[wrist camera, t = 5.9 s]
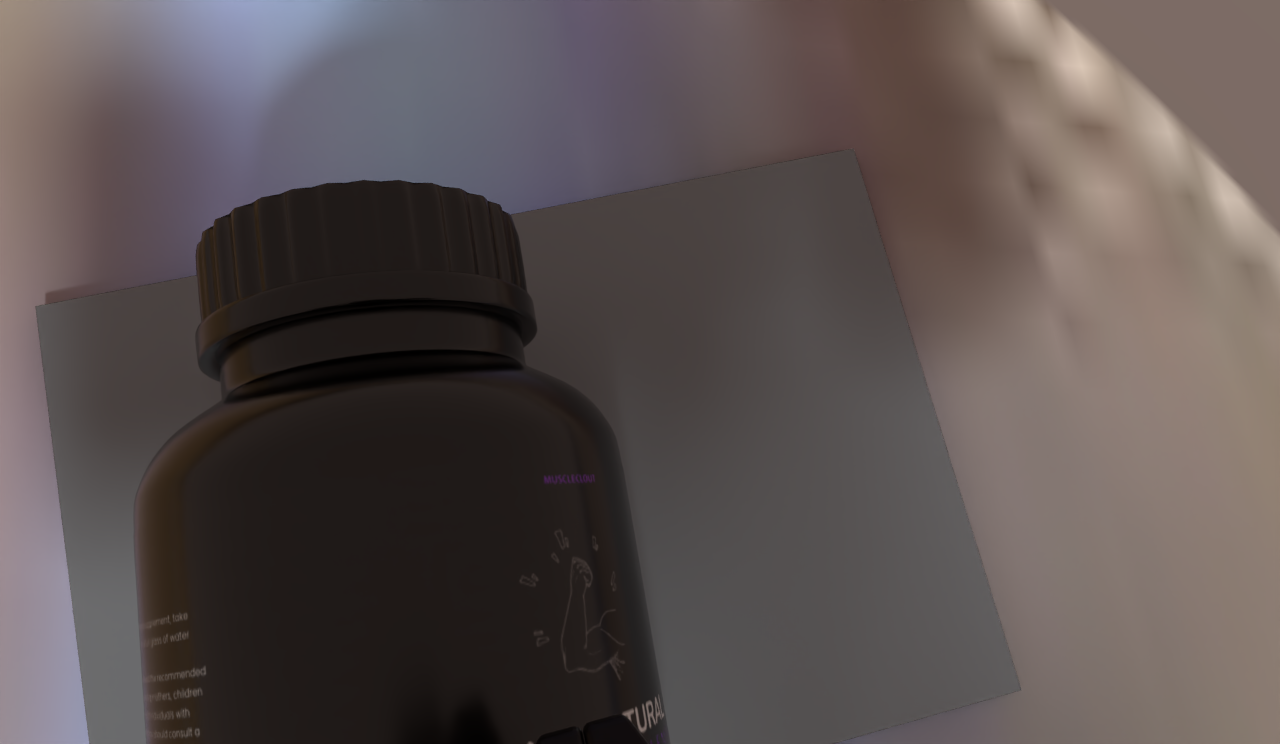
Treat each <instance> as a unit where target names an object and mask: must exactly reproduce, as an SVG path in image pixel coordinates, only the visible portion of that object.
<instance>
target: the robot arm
mask: <svg viewBox="0 0 1280 744" xmlns="http://www.w3.org/2000/svg"><path fill="white" fill-rule="evenodd" d="M583 735H584V737H583ZM584 739H585V742H584ZM536 744H649V743H648V742H647V741H646V740H645V738H644V737H643V736H642V734H641V733H640V732H639V731H638V729H637V728H636V727H635V726H634V724H633V723H632V722H631V721H630V720H629V719H628V718H627V717H626V716H624V715H622V714H616V715H613V716H609V717H605V718H602V719H598V720H594V721H590V722H588V723H586V725H585V726H584V728H583V733H582V730H581V729H580V728H579V727H576V726H572V727H568V728H565V729H561V730H557V731H553V732H550V733H546V734H543V735H541V736H540V737H539V738H538V740H537V742H536Z"/></svg>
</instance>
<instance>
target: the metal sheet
mask: <svg viewBox="0 0 1280 744" xmlns="http://www.w3.org/2000/svg"><path fill="white" fill-rule="evenodd" d="M511 217H512V219H513V222H514V225H515V228H516V230H517V233H518V236H519V241H520V247H521V253H522V259H523V266H524V272H525V279H526V285H527V293H528V294H529V295H530V296H531V298H532V300H533V304H534V310H535V317H536V323H537V334H536V336H535V338H534V339H533V340H532V341H531V342H530V343H529V344H528V345H527V346H526V347H524V348H523V349H524V356H525V362H526V365H527V366H529V367H531V368H534V369H536V370H539V371H541V372H544V373H546V374H548V375H551V376H553V377H555V378H557V379H560V380H562V381H564V382H566V383H568V384H569V385H571V386H573V387H574V388H576V389H577V390H579V391H580V392H581V393H583V394H584V395H585V396H586V397H588V398H589V399H590V400H591V401H592V402H593V403H594V404H595V405H596V407H597V408H598V409H599V410H600V411H601V413H602V414H603V416H604V417H605V418H606V420H607V421H608V423H609V424H610V426H611V428H612V429H613V431H614V434H615V436H616V439H617V443H618V447H619V451H620V456H621V462H622V465H623V469H624V475H625V480H626V486H627V492H628V497H629V503H630V509H631V515H632V521H633V527H634V532H635V538H636V544H637V550H638V556H639V562H640V568H641V574H642V579H643V585H644V591H645V597H646V603H647V609H648V615H649V620H650V626H651V632H652V638H653V644H654V650H655V656H656V661H657V667H658V673H659V679H660V685H661V691H662V697H663V703H664V708H665V714H666V720H667V726H668V732H669V738H670V744H834V743H838V742H841V741H845V740H848V739H852V738H855V737H859V736H862V735H866V734H869V733H873V732H876V731H880V730H883V729H887V728H890V727H894V726H897V725H901V724H904V723H908V722H911V721H915V720H918V719H922V718H925V717H929V716H932V715H936V714H939V713H943V712H946V711H950V710H953V709H957V708H960V707H964V706H967V705H971V704H974V703H978V702H981V701H985V700H988V699H992V698H995V697H999V696H1002V695H1006V694H1009V693H1013V692H1016V691H1020V690H1021V687H1020V684H1019V680H1018V677H1017V674H1016V671H1015V668H1014V664H1013V661H1012V658H1011V655H1010V651H1009V648H1008V645H1007V642H1006V639H1005V635H1004V632H1003V629H1002V626H1001V622H1000V619H999V616H998V613H997V609H996V606H995V603H994V600H993V597H992V593H991V590H990V587H989V584H988V580H987V577H986V574H985V571H984V568H983V564H982V561H981V558H980V555H979V551H978V548H977V545H976V542H975V538H974V535H973V532H972V529H971V526H970V522H969V519H968V516H967V513H966V509H965V506H964V503H963V500H962V497H961V493H960V490H959V487H958V484H957V480H956V477H955V474H954V471H953V467H952V464H951V461H950V458H949V455H948V451H947V448H946V445H945V442H944V438H943V435H942V432H941V429H940V426H939V422H938V419H937V416H936V413H935V409H934V406H933V403H932V400H931V397H930V393H929V390H928V387H927V384H926V380H925V377H924V374H923V371H922V367H921V364H920V361H919V358H918V355H917V351H916V348H915V345H914V342H913V338H912V335H911V332H910V329H909V326H908V322H907V319H906V316H905V313H904V309H903V306H902V303H901V300H900V296H899V293H898V290H897V287H896V284H895V280H894V277H893V274H892V271H891V267H890V264H889V261H888V258H887V255H886V251H885V248H884V245H883V242H882V238H881V235H880V232H879V229H878V226H877V222H876V219H875V216H874V213H873V209H872V206H871V203H870V200H869V196H868V193H867V190H866V187H865V184H864V180H863V177H862V174H861V171H860V167H859V164H858V161H857V158H856V155H855V151H854V148H853V149H848V150H843V151H838V152H833V153H828V154H822V155H817V156H812V157H807V158H802V159H796V160H791V161H786V162H781V163H776V164H771V165H765V166H760V167H755V168H750V169H745V170H739V171H734V172H729V173H724V174H719V175H714V176H708V177H703V178H698V179H693V180H688V181H682V182H677V183H672V184H667V185H662V186H657V187H651V188H646V189H641V190H636V191H631V192H625V193H620V194H615V195H610V196H605V197H600V198H594V199H589V200H584V201H579V202H574V203H569V204H563V205H558V206H553V207H548V208H543V209H537V210H532V211H527V212H522V213H517V214H512V215H511ZM35 307H36V315H37V323H38V331H39V339H40V347H41V355H42V363H43V372H44V380H45V388H46V396H47V404H48V412H49V420H50V428H51V436H52V444H53V452H54V461H55V469H56V477H57V485H58V493H59V501H60V509H61V517H62V525H63V533H64V542H65V550H66V558H67V566H68V574H69V582H70V590H71V598H72V606H73V614H74V623H75V631H76V639H77V647H78V655H79V663H80V671H81V679H82V687H83V695H84V704H85V712H86V720H87V728H88V736H89V744H146V735H145V719H144V703H143V687H142V671H141V655H140V640H139V624H138V608H137V591H136V575H135V559H134V540H133V535H134V524H133V512H134V500H135V495H136V492H137V490H138V487H139V484H140V481H141V479H142V477H143V475H144V473H145V471H146V469H147V467H148V465H149V464H150V462H151V460H152V459H153V457H154V456H155V454H156V453H157V452H158V450H159V449H160V448H161V447H162V446H163V445H164V444H165V442H166V441H167V440H168V439H169V438H170V437H171V436H172V435H173V434H174V433H176V432H177V431H178V430H179V429H181V428H182V427H183V426H184V425H186V424H187V423H188V422H190V421H191V420H193V419H194V418H196V417H197V416H198V415H200V414H201V413H203V412H204V411H206V410H207V409H209V408H210V407H212V406H214V405H215V404H217V403H218V402H219V401H221V400H222V397H221V385H220V382H218V381H216V380H213V379H211V378H209V377H208V376H206V375H205V374H204V373H203V372H202V371H201V370H200V368H199V366H198V361H197V353H196V344H195V333H196V330H197V328H198V326H199V325H200V323H201V316H200V306H199V294H198V282H197V275H196V276H190V277H185V278H180V279H175V280H170V281H164V282H159V283H154V284H149V285H144V286H139V287H133V288H128V289H123V290H118V291H113V292H107V293H102V294H97V295H92V296H87V297H82V298H76V299H71V300H66V301H61V302H56V303H51V304H45V305H40V306H35Z"/></svg>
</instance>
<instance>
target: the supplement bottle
mask: <svg viewBox="0 0 1280 744" xmlns="http://www.w3.org/2000/svg"><path fill="white" fill-rule="evenodd" d="M196 269H197V282H198V294H199V306H200V316H201V323H200V325H199V326H198V328H197V330H196V333H195V344H196V353H197V361H198V366H199V368H200V370H201V371H202V372H203V373H204V374H205V375H206V376H208V377H209V378H211V379H213V380H216V381H218V382H220V385H221V397H222V400H221V401H219V402H218V403H217V404H215V405H214V406H212V407H210V408H209V409H207V410H206V411H204V412H203V413H201V414H200V415H198V416H197V417H196V418H194V419H193V420H191V421H190V422H188V423H187V424H186V425H184V426H183V427H182V428H181V429H179V430H178V431H177V432H176V433H174V434H173V435H172V436H171V437H170V438H169V439H168V440H167V441H166V442H165V444H164V445H163V446H162V447H161V448H160V449H159V450H158V452H157V453H156V454H155V456H154V457H153V459H152V460H151V462H150V464H149V465H148V467H147V469H146V471H145V473H144V475H143V477H142V479H141V481H140V484H139V487H138V490H137V492H136V495H135V500H134V512H133V524H134V535H133V540H134V559H135V575H136V591H137V608H138V624H139V640H140V655H141V671H142V687H143V703H144V719H145V735H146V744H536V742H537V740H538V738H539V737H540V736H541V735H543V734H546V733H550V732H553V731H557V730H561V729H565V728H568V727H572V726H576V727H579V728H580V729H581V730H582V733H583V728H584V726H585V725H586V723H588V722H590V721H594V720H598V719H602V718H605V717H609V716H613V715H616V714H622V715H624V716H626V717H627V718H628V719H629V720H630V721H631V722H632V723H633V724H634V726H635V727H636V728H637V729H638V731H639V732H640V733H641V734H642V736H643V737H644V738H645V740H646V741H647V742H648V743H649V744H670V738H669V732H668V726H667V720H666V714H665V708H664V703H663V697H662V691H661V685H660V679H659V673H658V667H657V661H656V656H655V650H654V644H653V638H652V632H651V626H650V620H649V615H648V609H647V603H646V597H645V591H644V585H643V579H642V574H641V568H640V562H639V556H638V550H637V544H636V538H635V532H634V527H633V521H632V515H631V509H630V503H629V497H628V492H627V486H626V480H625V475H624V469H623V465H622V462H621V456H620V451H619V447H618V443H617V439H616V436H615V434H614V431H613V429H612V428H611V426H610V424H609V423H608V421H607V420H606V418H605V417H604V416H603V414H602V413H601V411H600V410H599V409H598V408H597V407H596V405H595V404H594V403H593V402H592V401H591V400H590V399H589V398H588V397H586V396H585V395H584V394H583V393H581V392H580V391H579V390H577V389H576V388H574V387H573V386H571V385H569V384H568V383H566V382H564V381H562V380H560V379H557V378H555V377H553V376H551V375H548V374H546V373H544V372H541V371H539V370H536V369H534V368H531V367H529V366H527V365H526V362H525V356H524V349H523V348H524V347H526V346H527V345H528V344H529V343H530V342H531V341H532V340H533V339H534V338H535V336H536V334H537V323H536V317H535V310H534V304H533V300H532V298H531V296H530V295H529V294H528V293H527V285H526V279H525V272H524V266H523V259H522V253H521V247H520V241H519V236H518V233H517V230H516V228H515V225H514V222H513V219H512V217H511V215H510V214H508V213H506V212H504V211H502V208H501V206H500V205H499V204H496V203H492V202H489V201H487V200H486V198H485V197H483V196H481V195H476V194H470V193H467V192H465V191H464V190H462V189H460V188H450V187H442V186H439V185H436V184H433V183H411V182H406V181H401V180H394V181H382V182H379V181H367V180H362V181H355V182H349V183H326V184H322V185H319V186H315V187H311V188H299V189H292V190H289V191H287V192H284V193H282V194H279V195H273V196H267V197H262V198H260V199H258V200H256V201H255V202H253V203H252V204H248V205H244V206H240V207H237V208H234V209H233V210H232V211H231V213H230V214H229V215H226V216H223V217H221V218H218V219H216V220H215V222H214V226H213V227H211V228H209V229H207V230H205V231H204V232H203V233H202V239H201V242H200V243H198V245H197V250H196ZM583 737H584V735H583ZM584 742H585V739H584Z"/></svg>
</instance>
